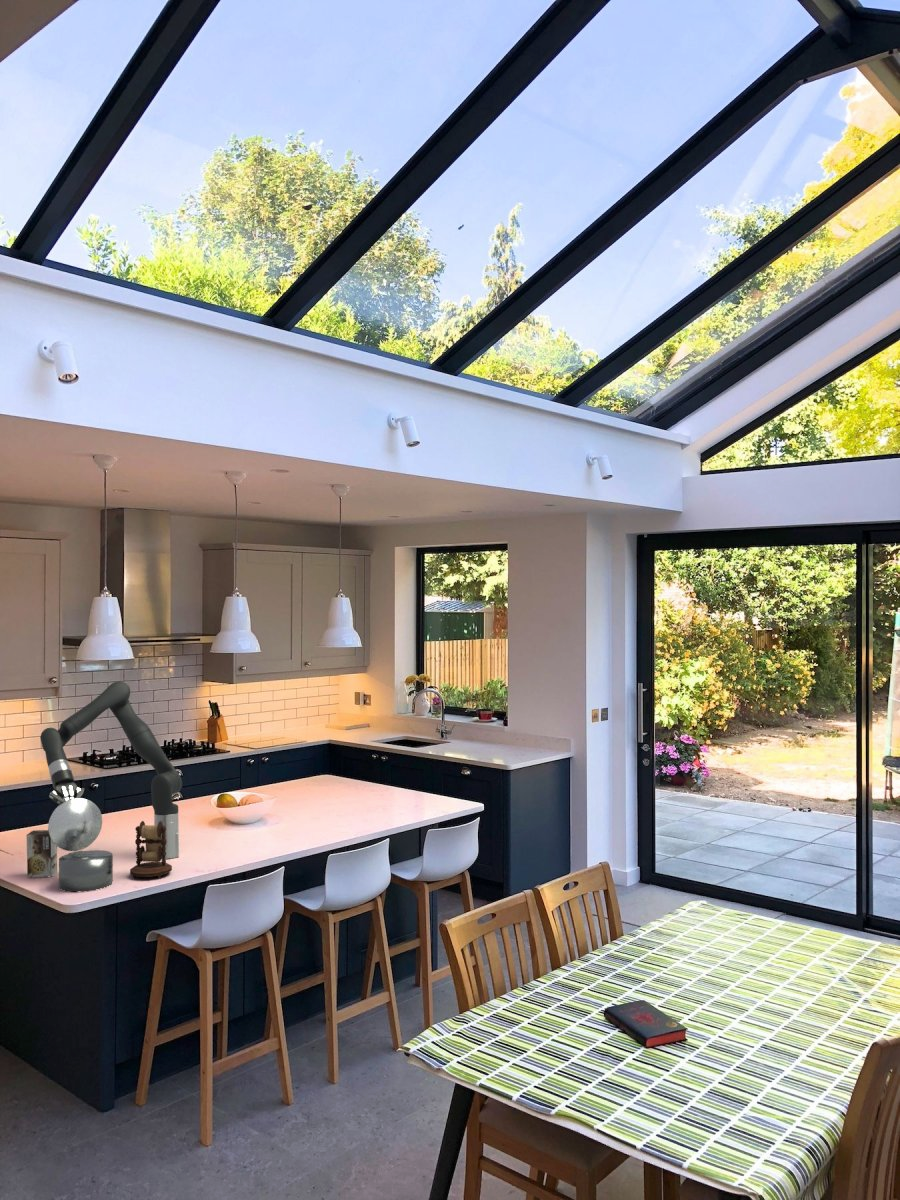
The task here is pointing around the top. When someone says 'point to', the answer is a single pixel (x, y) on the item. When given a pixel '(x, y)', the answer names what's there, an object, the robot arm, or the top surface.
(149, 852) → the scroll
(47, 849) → the coffee box
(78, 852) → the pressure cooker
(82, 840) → the lid
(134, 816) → the top surface
